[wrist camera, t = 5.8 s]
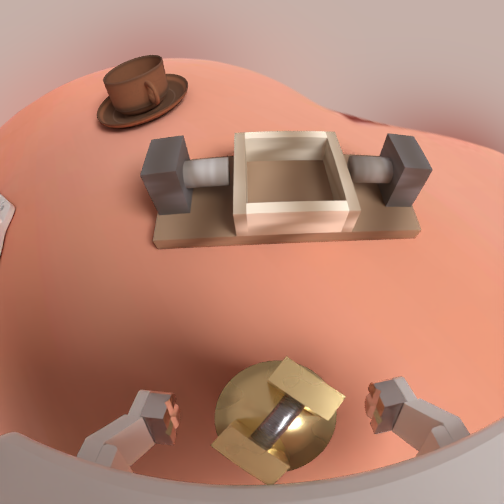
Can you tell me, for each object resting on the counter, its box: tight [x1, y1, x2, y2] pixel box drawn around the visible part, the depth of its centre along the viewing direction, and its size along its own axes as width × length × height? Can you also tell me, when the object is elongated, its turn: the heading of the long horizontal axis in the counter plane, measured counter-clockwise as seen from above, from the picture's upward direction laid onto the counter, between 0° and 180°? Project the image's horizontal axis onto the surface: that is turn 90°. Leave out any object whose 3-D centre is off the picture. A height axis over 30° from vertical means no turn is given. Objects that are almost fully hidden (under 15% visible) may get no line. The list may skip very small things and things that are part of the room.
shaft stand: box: [140, 131, 432, 249], centre depth 20 cm, size 20×8×6 cm, turn 92°
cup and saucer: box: [97, 55, 188, 128], centre depth 28 cm, size 12×12×6 cm
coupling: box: [211, 356, 346, 485], centre depth 11 cm, size 4×4×10 cm
